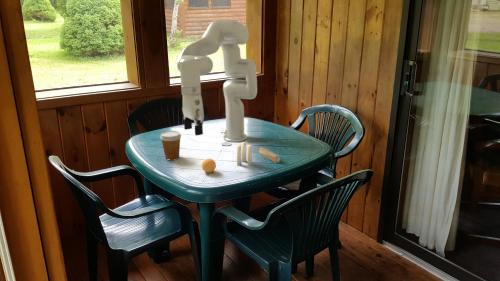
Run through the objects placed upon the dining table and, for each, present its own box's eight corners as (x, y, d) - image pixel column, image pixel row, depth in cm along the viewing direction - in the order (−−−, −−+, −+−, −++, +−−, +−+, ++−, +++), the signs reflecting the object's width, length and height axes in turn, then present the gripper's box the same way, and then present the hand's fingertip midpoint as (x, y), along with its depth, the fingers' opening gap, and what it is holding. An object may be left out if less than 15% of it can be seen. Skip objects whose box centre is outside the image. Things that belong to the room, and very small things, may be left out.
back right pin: (246, 165, 182) (246, 146, 179) (249, 163, 183) (248, 144, 180) (250, 165, 181) (250, 146, 178) (252, 164, 182) (252, 145, 179)
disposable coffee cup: (163, 154, 195) (161, 131, 191) (183, 153, 196) (181, 130, 192) (160, 162, 186) (158, 137, 183) (181, 161, 187) (180, 136, 183)
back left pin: (241, 161, 186) (240, 143, 183) (243, 160, 187) (243, 141, 184) (245, 162, 185) (244, 143, 182) (247, 160, 186) (246, 142, 184)
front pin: (236, 165, 182) (235, 146, 179) (238, 163, 183) (238, 144, 180) (240, 166, 181) (239, 147, 178) (242, 164, 182) (242, 145, 180)
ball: (199, 173, 174) (198, 160, 172) (207, 168, 179) (206, 155, 177) (211, 175, 171) (210, 162, 169) (218, 170, 176) (218, 158, 174)
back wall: (275, 162, 184) (275, 156, 183) (259, 153, 195) (259, 147, 194) (279, 162, 185) (279, 155, 184) (262, 152, 196) (262, 147, 195)
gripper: (210, 92, 155) (211, 135, 160) (190, 85, 168) (192, 125, 174) (192, 95, 151) (194, 139, 156) (173, 88, 164) (176, 128, 170)
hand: (193, 131), depth 165 cm, fingers open, 9 cm apart
